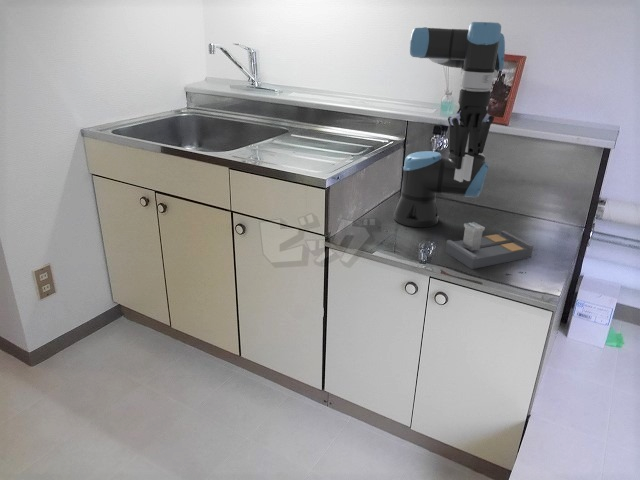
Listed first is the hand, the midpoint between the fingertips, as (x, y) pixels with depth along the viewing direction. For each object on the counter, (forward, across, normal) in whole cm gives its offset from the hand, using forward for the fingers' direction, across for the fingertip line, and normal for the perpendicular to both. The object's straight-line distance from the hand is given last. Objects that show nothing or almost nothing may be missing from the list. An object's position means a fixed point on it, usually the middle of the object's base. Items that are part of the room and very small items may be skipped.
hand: (462, 179), depth 138 cm
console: (+24, +14, 0) cm, 28 cm away
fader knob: (+21, +7, 0) cm, 22 cm away
